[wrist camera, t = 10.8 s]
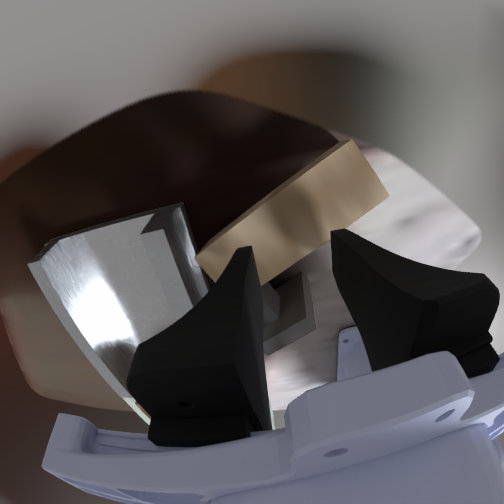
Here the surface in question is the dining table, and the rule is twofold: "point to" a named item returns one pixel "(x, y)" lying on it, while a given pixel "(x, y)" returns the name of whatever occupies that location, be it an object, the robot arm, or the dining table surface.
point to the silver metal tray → (122, 284)
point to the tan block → (296, 234)
